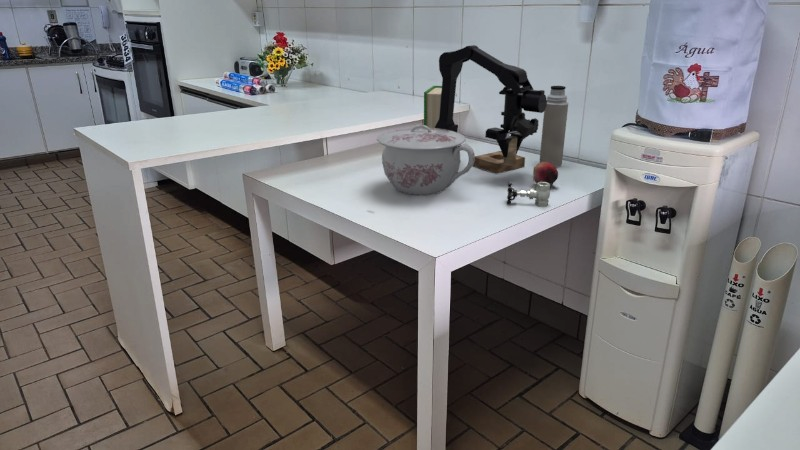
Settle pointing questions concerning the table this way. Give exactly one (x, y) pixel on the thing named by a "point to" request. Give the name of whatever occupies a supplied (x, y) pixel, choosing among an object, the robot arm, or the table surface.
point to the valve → (532, 194)
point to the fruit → (545, 173)
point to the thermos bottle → (554, 126)
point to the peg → (511, 152)
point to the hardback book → (432, 106)
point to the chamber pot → (423, 158)
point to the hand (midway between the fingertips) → (509, 156)
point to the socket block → (497, 162)
